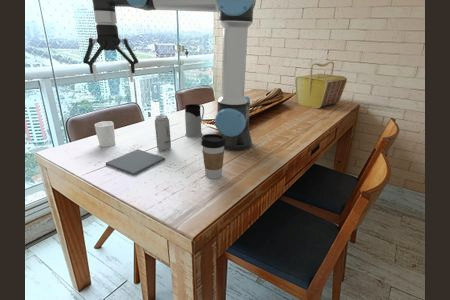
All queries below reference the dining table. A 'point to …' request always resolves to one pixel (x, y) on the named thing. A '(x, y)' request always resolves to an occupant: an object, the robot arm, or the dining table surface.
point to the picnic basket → (319, 88)
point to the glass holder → (193, 120)
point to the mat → (135, 161)
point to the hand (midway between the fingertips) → (114, 81)
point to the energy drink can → (162, 133)
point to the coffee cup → (213, 154)
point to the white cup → (105, 133)
